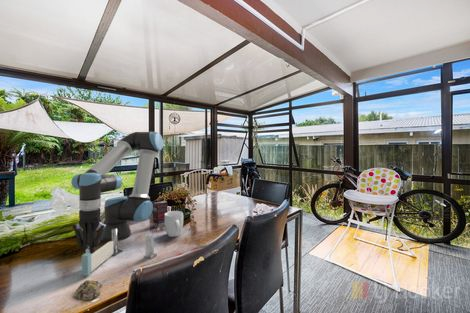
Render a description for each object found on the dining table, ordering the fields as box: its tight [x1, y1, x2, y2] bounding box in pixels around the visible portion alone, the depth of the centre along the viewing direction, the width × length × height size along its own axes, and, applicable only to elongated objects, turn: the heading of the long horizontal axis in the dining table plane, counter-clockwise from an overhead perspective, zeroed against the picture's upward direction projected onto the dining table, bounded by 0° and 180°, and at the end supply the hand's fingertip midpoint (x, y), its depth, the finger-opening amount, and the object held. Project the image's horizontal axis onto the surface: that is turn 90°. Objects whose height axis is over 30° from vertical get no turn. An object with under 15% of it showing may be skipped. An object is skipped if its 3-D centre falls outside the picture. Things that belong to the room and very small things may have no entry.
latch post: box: [143, 235, 157, 260], centre depth 99 cm, size 4×4×10 cm
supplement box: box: [152, 200, 168, 228], centre depth 141 cm, size 9×5×16 cm, turn 146°
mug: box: [164, 210, 184, 238], centre depth 124 cm, size 15×11×13 cm
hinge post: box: [110, 228, 124, 257], centre depth 102 cm, size 5×5×12 cm
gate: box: [81, 241, 113, 276], centre depth 91 cm, size 18×2×8 cm, turn 179°
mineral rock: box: [73, 279, 103, 301], centre depth 74 cm, size 11×4×8 cm
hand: (89, 262), depth 89 cm, fingers closed
